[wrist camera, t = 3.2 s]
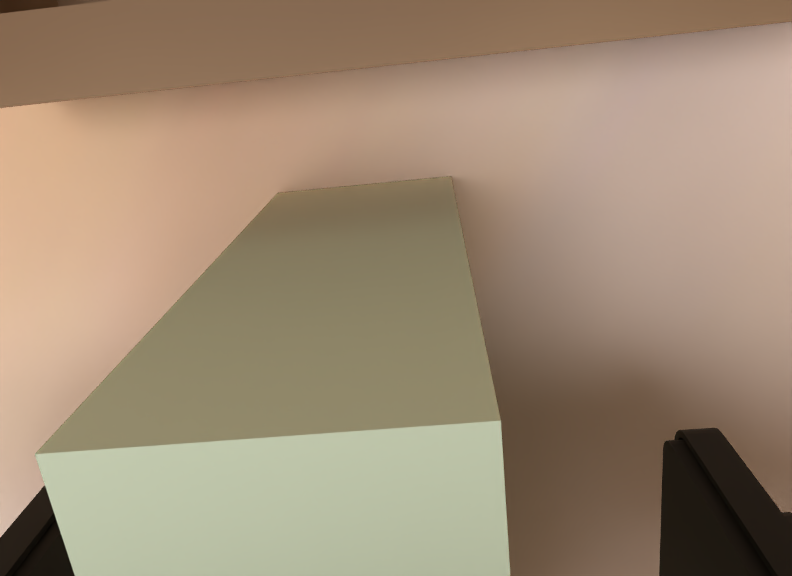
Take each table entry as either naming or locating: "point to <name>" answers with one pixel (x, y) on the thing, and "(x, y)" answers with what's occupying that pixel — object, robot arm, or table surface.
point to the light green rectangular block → (300, 408)
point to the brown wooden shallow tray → (307, 37)
